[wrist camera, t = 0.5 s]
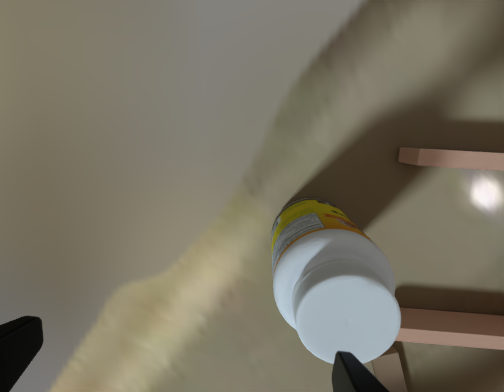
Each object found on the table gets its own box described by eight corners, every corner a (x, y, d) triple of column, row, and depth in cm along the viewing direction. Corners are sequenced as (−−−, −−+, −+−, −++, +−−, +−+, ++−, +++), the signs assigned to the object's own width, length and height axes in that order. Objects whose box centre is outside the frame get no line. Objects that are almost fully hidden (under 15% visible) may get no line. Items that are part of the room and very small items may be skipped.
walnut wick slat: (410, 419, 24) (418, 434, 23) (387, 424, 24) (393, 438, 23) (391, 341, 22) (398, 352, 21) (366, 346, 23) (371, 358, 22)
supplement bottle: (360, 246, 20) (449, 351, 10) (293, 279, 21) (316, 405, 11) (325, 181, 20) (386, 227, 10) (257, 218, 20) (247, 296, 10)
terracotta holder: (526, 329, 21) (559, 354, 19) (372, 316, 22) (385, 339, 19) (578, 156, 18) (625, 160, 16) (400, 147, 19) (420, 148, 16)
